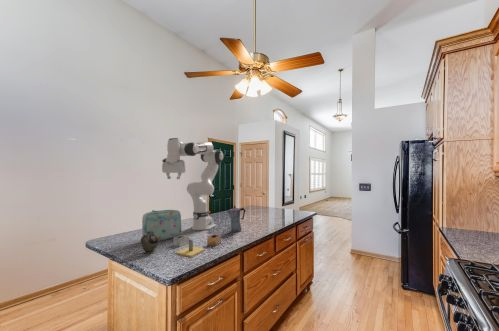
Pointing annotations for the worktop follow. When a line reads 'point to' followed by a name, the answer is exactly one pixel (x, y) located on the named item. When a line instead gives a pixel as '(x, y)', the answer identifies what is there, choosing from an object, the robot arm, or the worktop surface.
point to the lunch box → (162, 224)
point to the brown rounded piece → (214, 240)
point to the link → (180, 240)
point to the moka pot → (235, 218)
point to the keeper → (190, 250)
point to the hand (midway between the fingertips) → (173, 179)
